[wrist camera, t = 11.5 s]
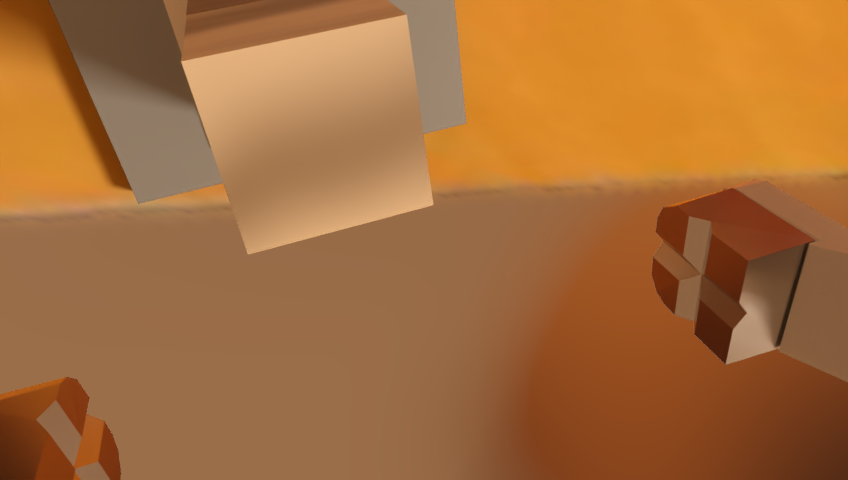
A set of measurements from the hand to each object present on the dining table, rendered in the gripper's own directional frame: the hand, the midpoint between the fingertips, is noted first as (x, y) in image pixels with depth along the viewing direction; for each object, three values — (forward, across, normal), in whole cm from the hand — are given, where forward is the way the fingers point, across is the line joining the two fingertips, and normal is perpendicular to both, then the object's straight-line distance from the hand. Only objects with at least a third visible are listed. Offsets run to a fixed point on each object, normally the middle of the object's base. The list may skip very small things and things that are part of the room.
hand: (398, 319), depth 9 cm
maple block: (+12, 0, +1) cm, 13 cm away
